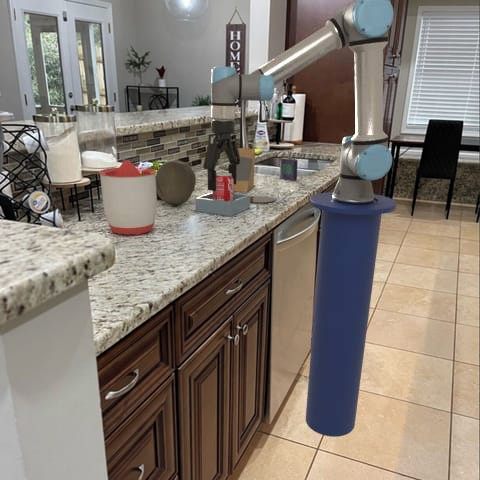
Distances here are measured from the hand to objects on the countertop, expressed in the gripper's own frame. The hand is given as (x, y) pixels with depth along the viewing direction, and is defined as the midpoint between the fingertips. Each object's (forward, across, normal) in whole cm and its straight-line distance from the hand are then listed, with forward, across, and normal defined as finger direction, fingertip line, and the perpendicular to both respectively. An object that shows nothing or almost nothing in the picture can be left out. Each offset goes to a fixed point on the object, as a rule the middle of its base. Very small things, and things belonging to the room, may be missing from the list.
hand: (222, 187), depth 168 cm
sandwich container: (+8, -37, -13) cm, 40 cm away
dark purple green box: (+8, -67, -4) cm, 67 cm away
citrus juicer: (+8, +35, -10) cm, 37 cm away
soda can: (+8, 0, 0) cm, 8 cm away
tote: (+8, 0, 0) cm, 8 cm away
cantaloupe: (+8, +2, -18) cm, 20 cm away
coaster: (+8, -20, +4) cm, 22 cm away
